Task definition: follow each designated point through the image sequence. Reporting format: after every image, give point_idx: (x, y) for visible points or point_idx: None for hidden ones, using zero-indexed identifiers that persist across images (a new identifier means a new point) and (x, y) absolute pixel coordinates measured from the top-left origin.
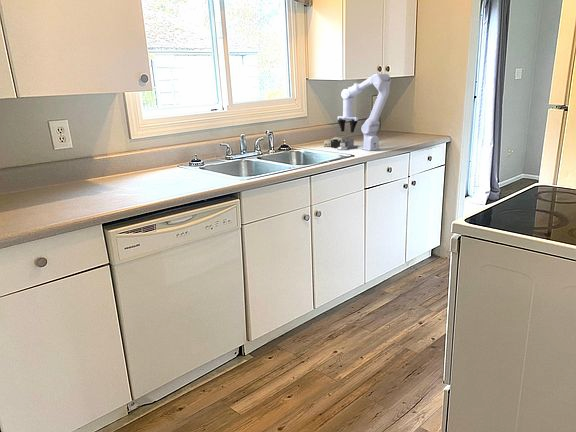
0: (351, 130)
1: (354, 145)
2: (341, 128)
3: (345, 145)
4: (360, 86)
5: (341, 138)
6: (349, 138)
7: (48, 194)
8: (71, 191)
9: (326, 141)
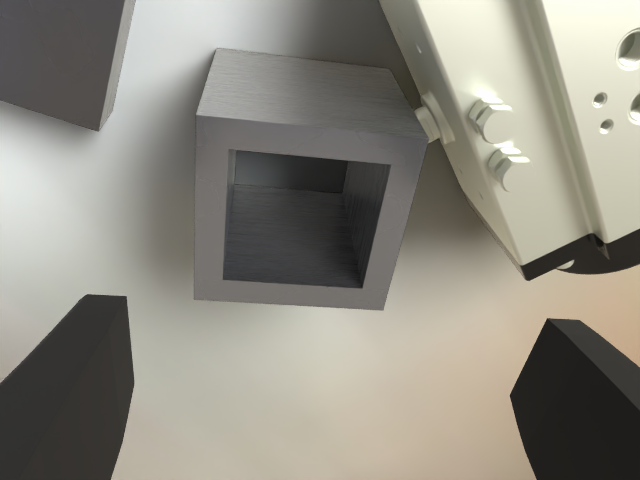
0: (46, 340)
1: (62, 90)
2: (626, 391)
3: (303, 69)
4: None
5: (498, 211)
6: (309, 282)
7: None
8: None
9: None
